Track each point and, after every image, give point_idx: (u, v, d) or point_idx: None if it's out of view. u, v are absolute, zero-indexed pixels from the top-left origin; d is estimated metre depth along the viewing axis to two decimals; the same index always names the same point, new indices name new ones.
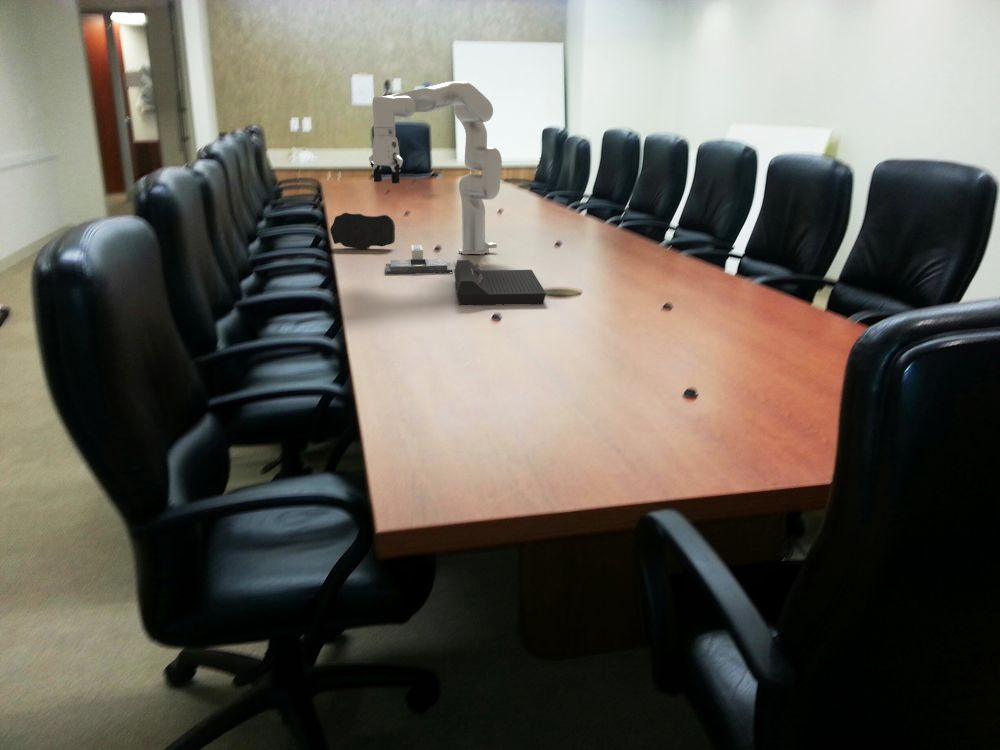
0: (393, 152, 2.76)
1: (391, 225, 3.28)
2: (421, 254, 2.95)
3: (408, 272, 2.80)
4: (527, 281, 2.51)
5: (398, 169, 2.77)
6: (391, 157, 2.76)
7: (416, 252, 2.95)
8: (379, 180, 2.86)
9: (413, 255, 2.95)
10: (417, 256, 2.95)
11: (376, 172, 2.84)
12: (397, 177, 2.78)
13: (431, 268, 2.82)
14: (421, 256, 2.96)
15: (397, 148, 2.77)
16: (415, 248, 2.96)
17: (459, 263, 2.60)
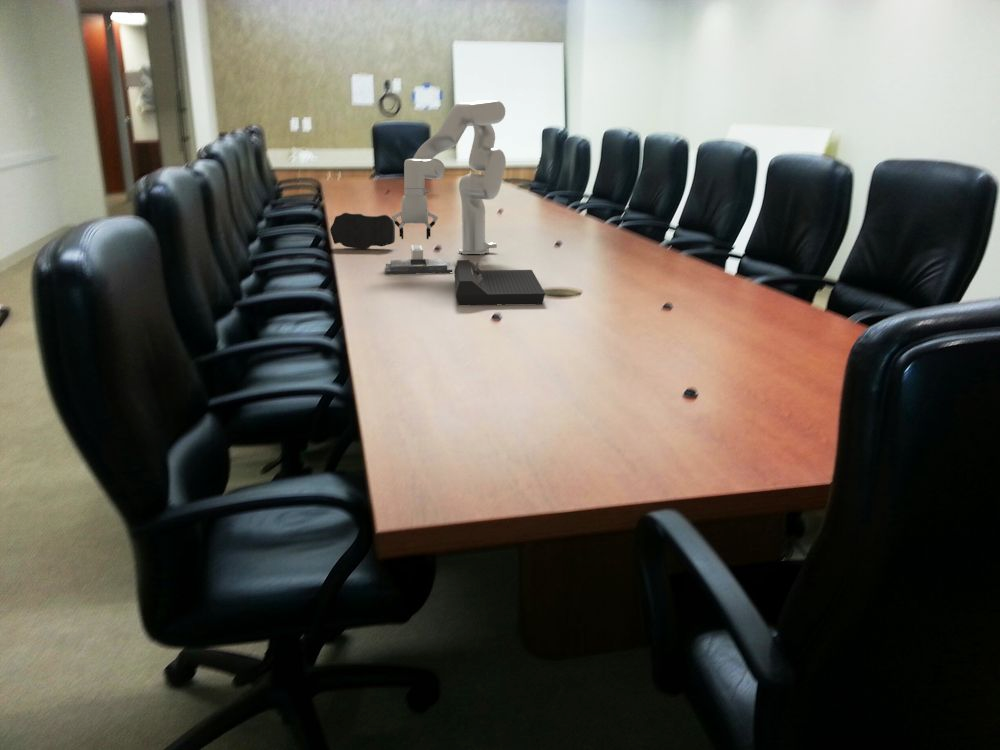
0: (427, 210, 2.96)
1: (391, 225, 3.28)
2: (421, 254, 2.95)
3: (408, 272, 2.80)
4: (527, 281, 2.51)
5: None
6: (428, 215, 2.95)
7: (416, 252, 2.95)
8: None
9: (413, 255, 2.95)
10: (417, 256, 2.95)
11: None
12: None
13: (431, 268, 2.82)
14: (421, 256, 2.96)
15: None
16: (415, 248, 2.96)
17: (459, 263, 2.60)
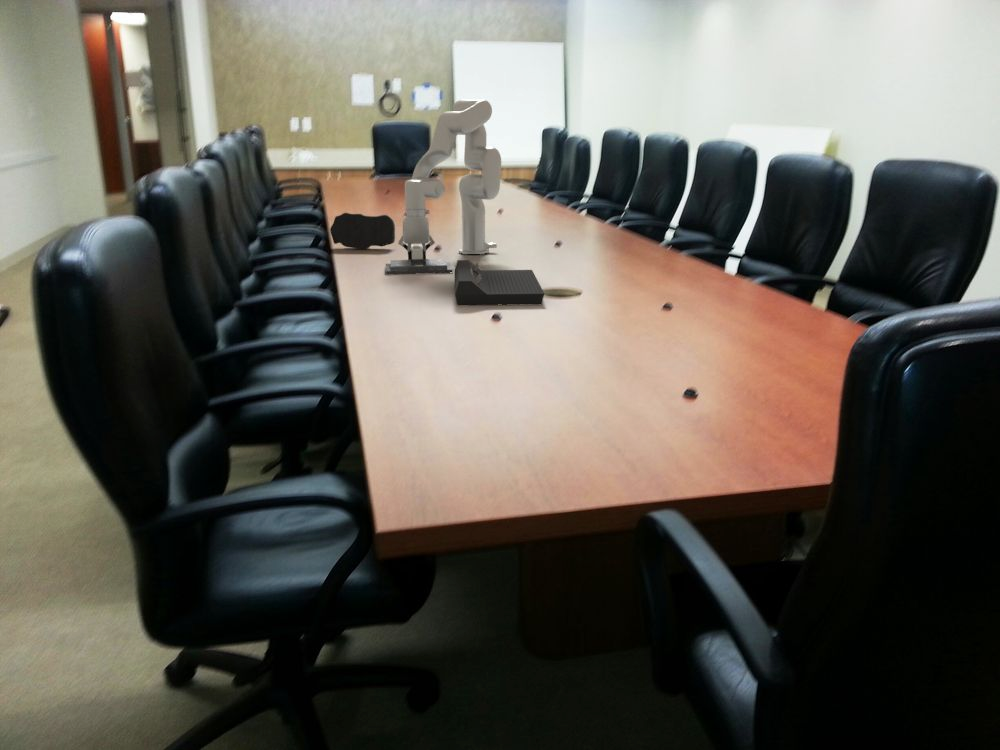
0: None
1: (391, 225, 3.28)
2: (421, 254, 2.95)
3: (408, 272, 2.80)
4: (526, 281, 2.51)
5: (427, 248, 3.01)
6: (429, 235, 2.98)
7: (416, 252, 2.95)
8: None
9: (413, 255, 2.95)
10: (417, 256, 2.95)
11: (411, 253, 3.00)
12: (425, 255, 3.02)
13: (431, 268, 2.82)
14: (421, 256, 2.96)
15: None
16: (415, 248, 2.96)
17: (459, 263, 2.60)
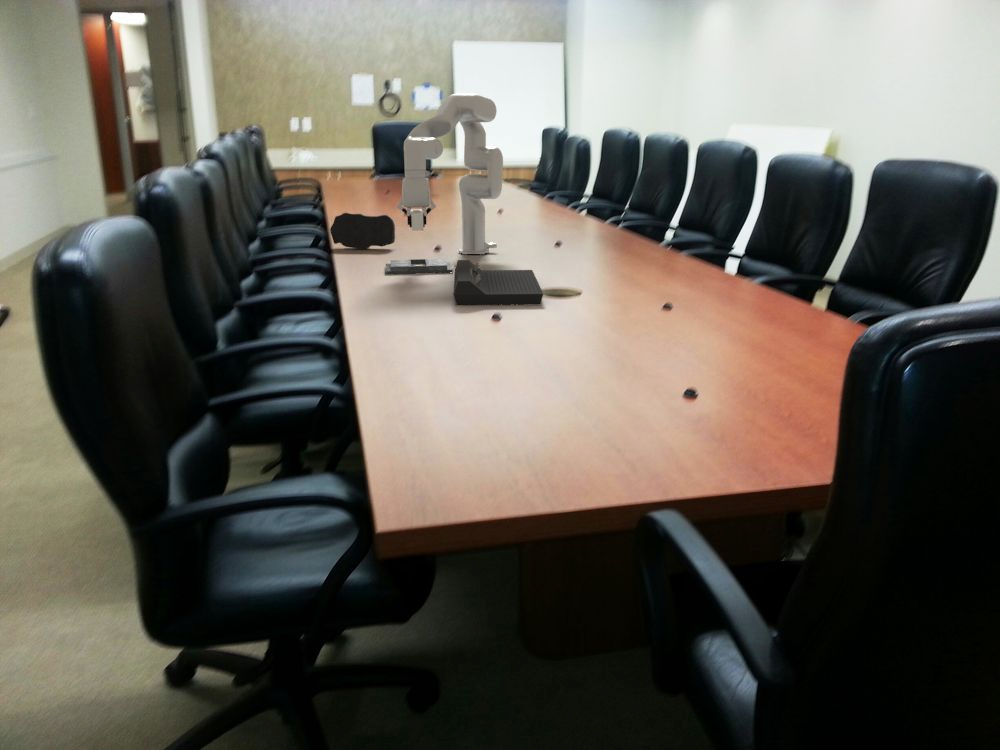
0: None
1: (391, 225, 3.28)
2: (421, 218, 2.76)
3: (408, 272, 2.80)
4: (526, 281, 2.51)
5: None
6: (430, 198, 2.79)
7: (416, 215, 2.76)
8: None
9: (413, 219, 2.76)
10: (417, 220, 2.76)
11: None
12: None
13: (431, 268, 2.82)
14: (421, 220, 2.77)
15: None
16: (415, 211, 2.77)
17: (459, 263, 2.60)
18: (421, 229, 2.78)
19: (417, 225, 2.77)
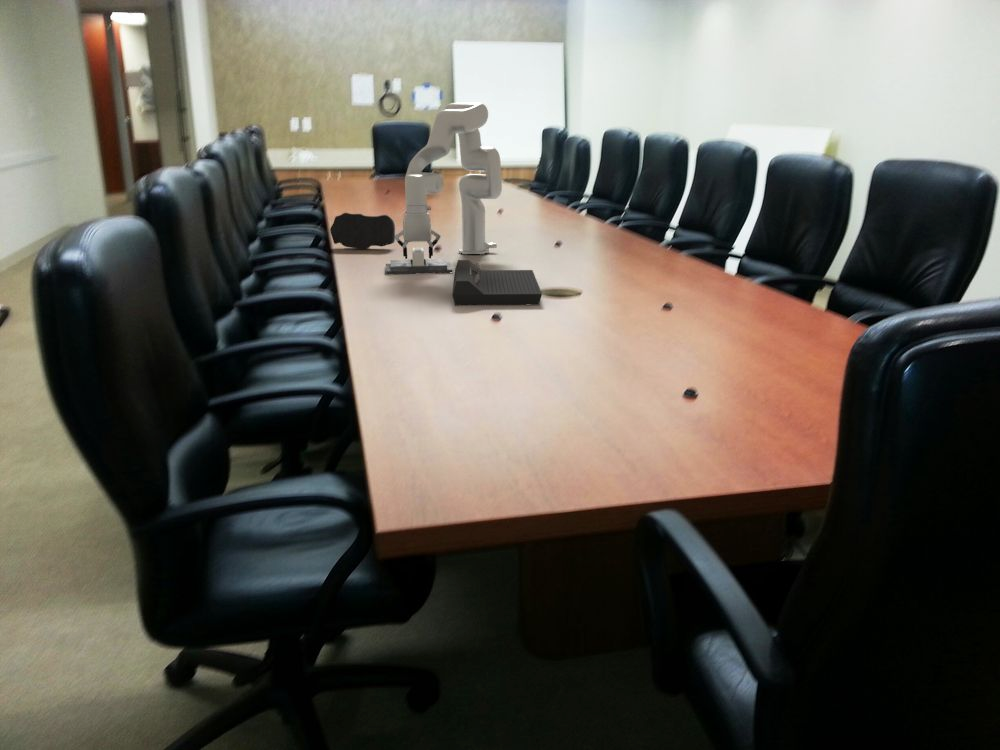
0: None
1: (391, 225, 3.28)
2: (422, 257, 2.81)
3: (408, 272, 2.80)
4: (525, 281, 2.51)
5: (434, 244, 2.86)
6: (431, 233, 2.83)
7: (416, 255, 2.80)
8: None
9: (413, 258, 2.81)
10: (418, 259, 2.81)
11: (406, 249, 2.84)
12: (432, 252, 2.87)
13: (431, 268, 2.82)
14: (422, 259, 2.81)
15: None
16: (416, 251, 2.82)
17: (459, 263, 2.60)
18: None
19: (417, 264, 2.82)
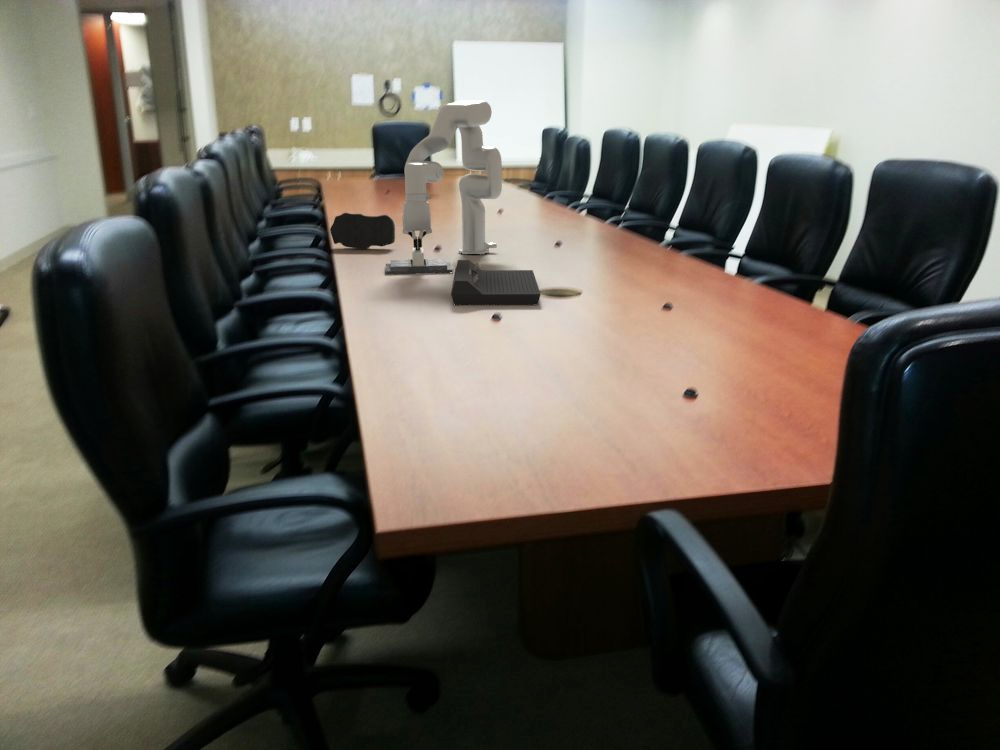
0: None
1: (391, 225, 3.28)
2: (422, 257, 2.81)
3: (408, 272, 2.80)
4: (525, 281, 2.50)
5: (423, 236, 2.84)
6: (430, 221, 2.82)
7: (416, 255, 2.80)
8: None
9: (413, 258, 2.81)
10: (418, 259, 2.81)
11: None
12: (421, 243, 2.85)
13: (431, 268, 2.82)
14: (422, 259, 2.81)
15: None
16: (416, 251, 2.82)
17: (459, 263, 2.61)
18: None
19: (417, 264, 2.82)
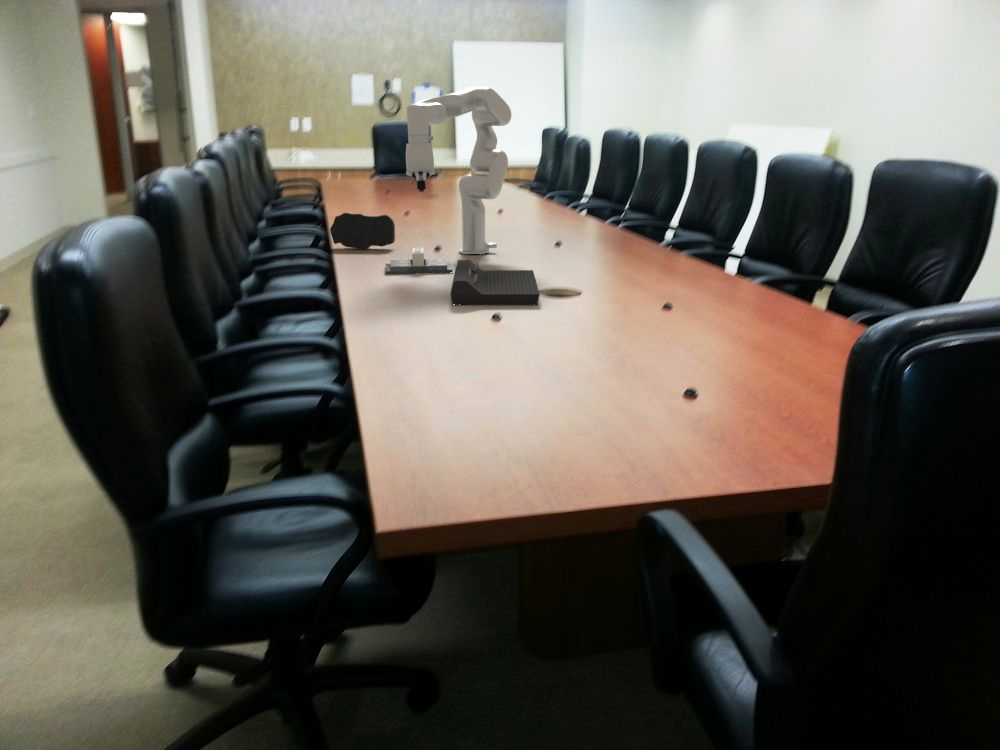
0: None
1: (391, 225, 3.28)
2: (422, 257, 2.81)
3: (408, 272, 2.80)
4: (524, 282, 2.50)
5: (426, 177, 2.89)
6: (433, 163, 2.86)
7: (416, 255, 2.80)
8: (421, 190, 2.90)
9: (413, 258, 2.81)
10: (418, 259, 2.81)
11: None
12: None
13: (431, 268, 2.82)
14: (422, 259, 2.81)
15: None
16: (416, 251, 2.82)
17: (459, 263, 2.61)
18: None
19: (417, 264, 2.82)
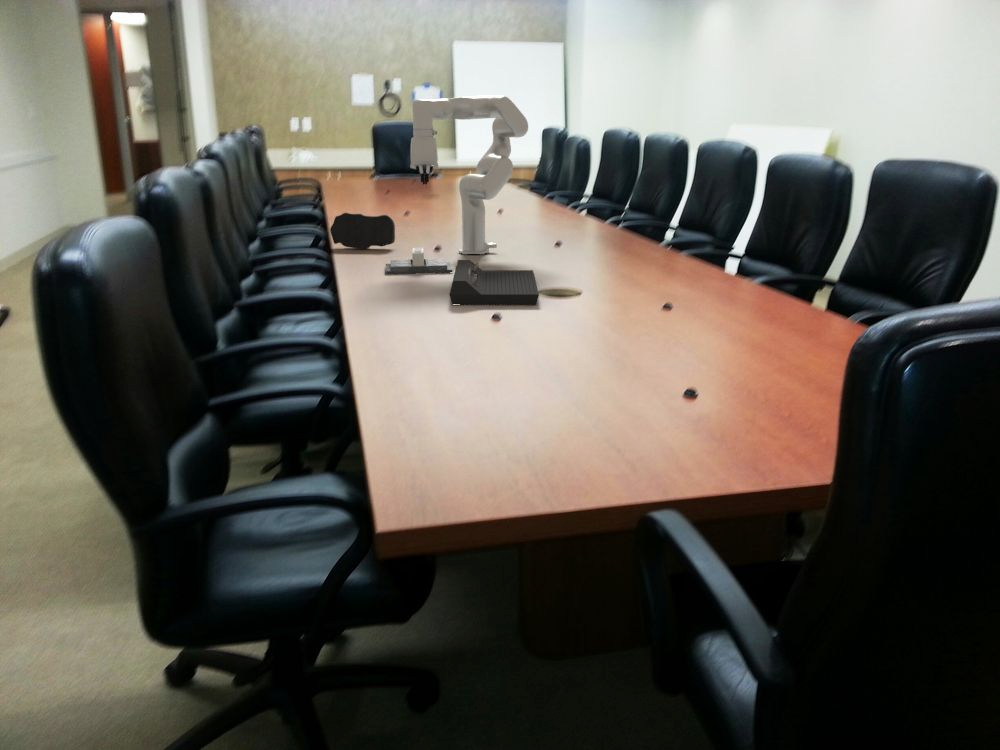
0: (436, 155, 2.96)
1: (391, 225, 3.28)
2: (422, 257, 2.81)
3: (408, 272, 2.80)
4: (524, 282, 2.50)
5: None
6: (437, 156, 2.95)
7: (416, 255, 2.80)
8: None
9: (413, 258, 2.81)
10: (418, 259, 2.81)
11: None
12: (428, 178, 2.99)
13: (431, 268, 2.82)
14: (422, 259, 2.81)
15: None
16: (416, 251, 2.82)
17: (459, 263, 2.61)
18: None
19: (417, 264, 2.82)
